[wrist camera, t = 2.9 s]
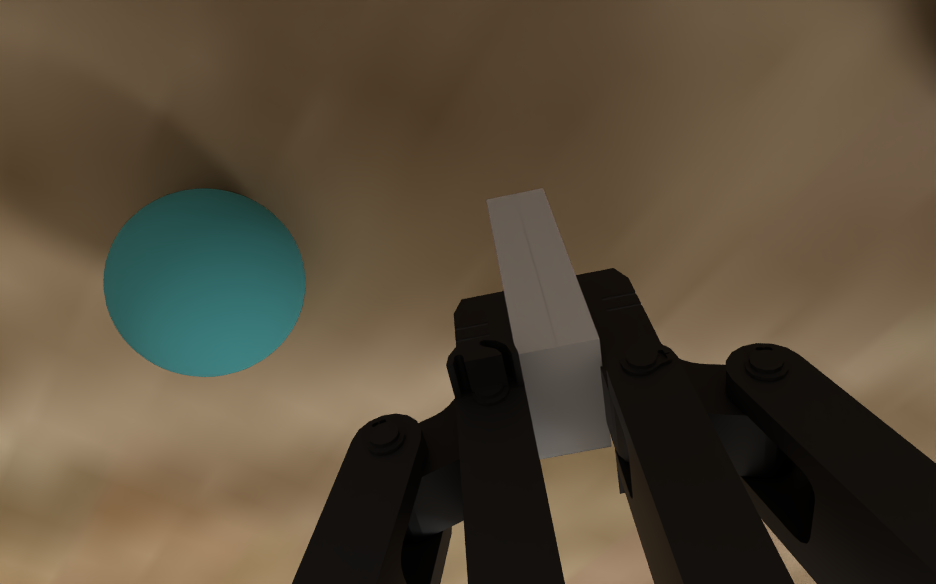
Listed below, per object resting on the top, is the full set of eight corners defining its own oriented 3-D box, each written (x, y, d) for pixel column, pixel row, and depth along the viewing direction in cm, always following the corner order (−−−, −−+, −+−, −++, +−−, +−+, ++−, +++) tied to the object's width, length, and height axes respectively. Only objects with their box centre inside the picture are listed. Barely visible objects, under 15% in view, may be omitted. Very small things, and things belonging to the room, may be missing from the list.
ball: (284, 143, 21) (242, 224, 16) (338, 292, 23) (315, 397, 19) (113, 179, 21) (24, 269, 16) (187, 321, 24) (129, 431, 19)
